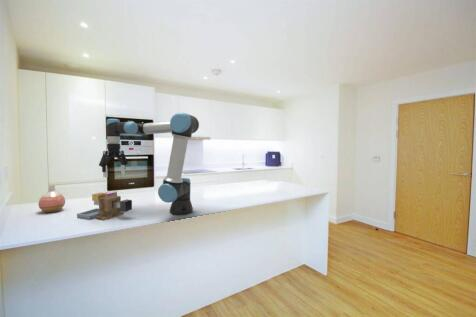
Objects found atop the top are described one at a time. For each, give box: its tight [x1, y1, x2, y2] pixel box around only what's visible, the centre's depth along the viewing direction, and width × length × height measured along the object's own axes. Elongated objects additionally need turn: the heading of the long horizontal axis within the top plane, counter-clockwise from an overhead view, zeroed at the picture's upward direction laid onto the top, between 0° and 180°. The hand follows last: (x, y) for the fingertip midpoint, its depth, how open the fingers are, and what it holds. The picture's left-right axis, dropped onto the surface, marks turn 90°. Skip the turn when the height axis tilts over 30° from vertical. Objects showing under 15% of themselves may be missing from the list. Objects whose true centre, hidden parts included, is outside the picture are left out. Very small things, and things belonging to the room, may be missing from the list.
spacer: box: [91, 192, 107, 202], centre depth 143 cm, size 5×6×4 cm
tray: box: [76, 207, 99, 221], centre depth 142 cm, size 11×13×2 cm
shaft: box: [93, 199, 133, 213], centre depth 140 cm, size 26×5×6 cm, turn 72°
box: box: [104, 190, 118, 196], centre depth 155 cm, size 10×6×12 cm, turn 168°
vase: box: [38, 184, 66, 214], centre depth 149 cm, size 14×14×18 cm
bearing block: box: [95, 195, 125, 221], centre depth 141 cm, size 7×14×12 cm, turn 162°
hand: (114, 176), depth 147 cm, fingers open, 13 cm apart
